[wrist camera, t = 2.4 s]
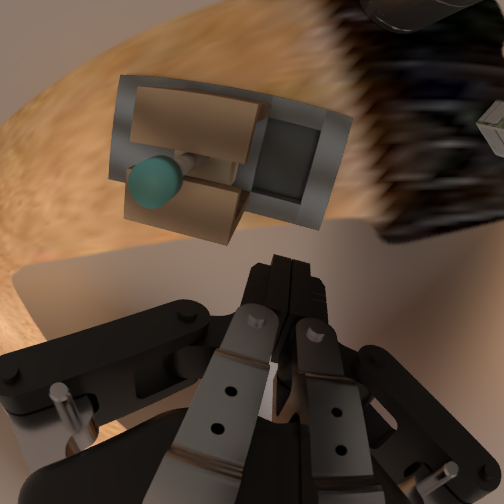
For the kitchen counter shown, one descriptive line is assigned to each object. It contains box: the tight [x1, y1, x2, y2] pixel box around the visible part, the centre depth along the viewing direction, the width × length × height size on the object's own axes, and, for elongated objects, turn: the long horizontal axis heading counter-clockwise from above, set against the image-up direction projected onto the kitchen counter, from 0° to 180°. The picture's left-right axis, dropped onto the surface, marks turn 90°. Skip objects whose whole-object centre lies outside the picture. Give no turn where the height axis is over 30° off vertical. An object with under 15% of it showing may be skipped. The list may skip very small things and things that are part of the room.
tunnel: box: [108, 75, 353, 246], centre depth 30 cm, size 14×28×14 cm, turn 77°
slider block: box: [128, 150, 239, 209], centre depth 27 cm, size 7×6×17 cm
